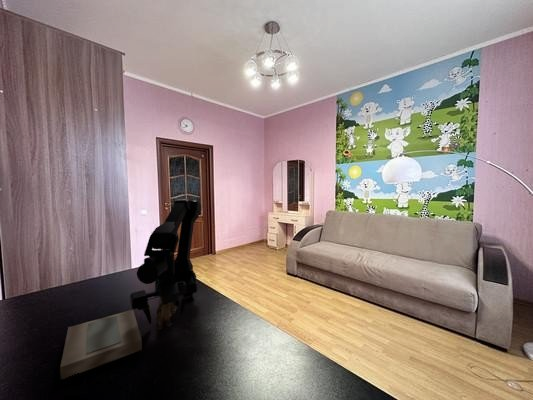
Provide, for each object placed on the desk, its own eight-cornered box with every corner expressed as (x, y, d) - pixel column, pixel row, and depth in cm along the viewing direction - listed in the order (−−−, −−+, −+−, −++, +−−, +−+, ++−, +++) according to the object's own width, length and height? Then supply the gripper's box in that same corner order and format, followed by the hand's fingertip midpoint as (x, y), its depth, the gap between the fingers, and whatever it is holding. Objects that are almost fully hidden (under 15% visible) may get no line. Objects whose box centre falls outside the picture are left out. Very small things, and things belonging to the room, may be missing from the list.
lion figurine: (178, 330, 69) (178, 300, 68) (159, 336, 66) (158, 306, 65) (168, 308, 81) (167, 283, 80) (151, 313, 78) (151, 287, 77)
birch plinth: (133, 318, 75) (133, 308, 75) (141, 349, 60) (141, 338, 60) (68, 337, 65) (68, 326, 65) (60, 380, 51) (60, 366, 51)
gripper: (133, 287, 59) (135, 345, 60) (203, 271, 70) (203, 320, 71) (128, 274, 68) (130, 324, 69) (191, 262, 79) (192, 305, 80)
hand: (165, 318), depth 72 cm, fingers open, 9 cm apart
